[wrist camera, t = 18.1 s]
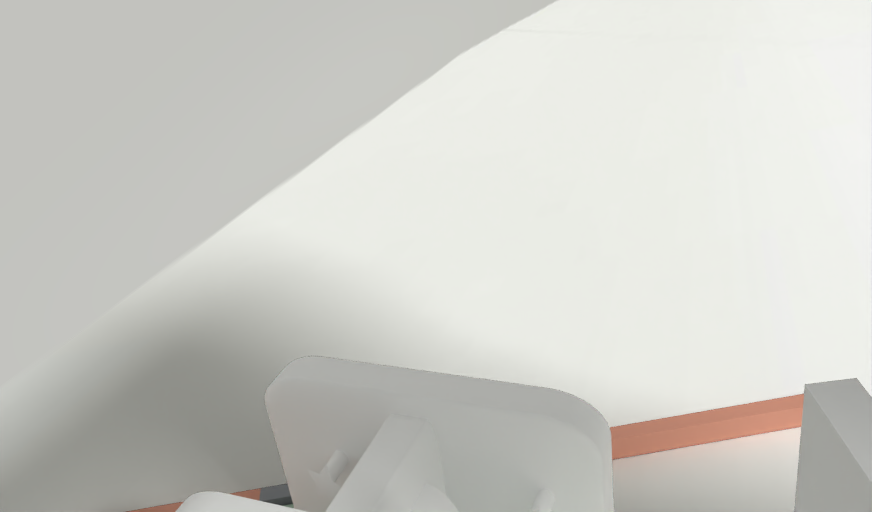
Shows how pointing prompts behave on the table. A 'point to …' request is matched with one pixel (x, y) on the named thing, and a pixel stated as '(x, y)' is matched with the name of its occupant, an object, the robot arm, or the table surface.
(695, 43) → the table surface
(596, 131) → the table surface
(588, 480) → the cable organizer
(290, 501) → the divided tray
